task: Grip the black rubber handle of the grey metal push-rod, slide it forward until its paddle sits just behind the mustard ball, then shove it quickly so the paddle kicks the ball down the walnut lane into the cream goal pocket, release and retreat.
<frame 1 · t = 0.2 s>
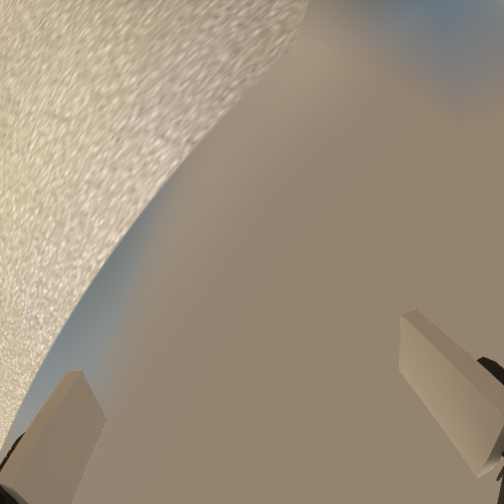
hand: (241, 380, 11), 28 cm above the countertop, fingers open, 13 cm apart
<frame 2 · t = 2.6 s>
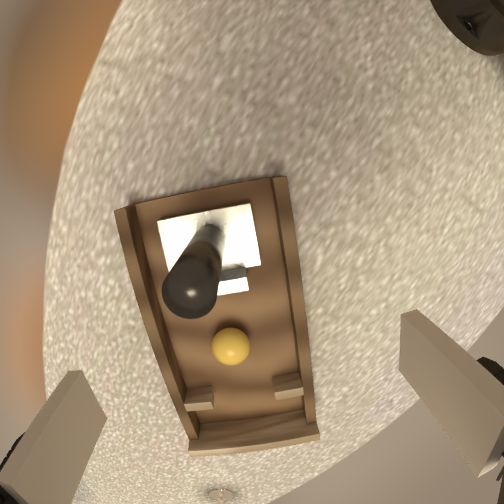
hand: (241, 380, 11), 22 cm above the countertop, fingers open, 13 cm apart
wineglass: (221, 494, 44), on the countertop
ball: (231, 337, 34), point 1 cm above the countertop, touching lane
lane: (229, 324, 35), on the countertop
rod: (203, 267, 25), point 9 cm above the countertop, slide at 0.0 cm
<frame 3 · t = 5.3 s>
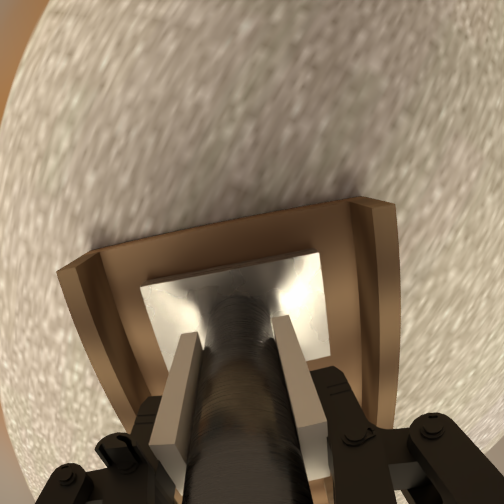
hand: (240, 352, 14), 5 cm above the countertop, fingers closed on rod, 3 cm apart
lane: (267, 425, 21), on the countertop
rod: (245, 413, 10), point 8 cm above the countertop, slide at 0.0 cm, touching gripper
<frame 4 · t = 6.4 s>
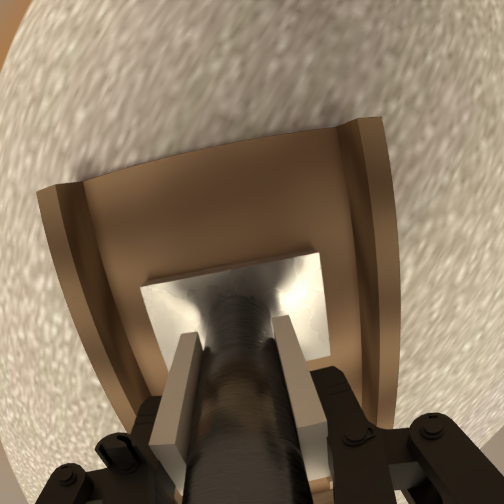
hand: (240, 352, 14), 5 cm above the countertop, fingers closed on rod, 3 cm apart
lane: (257, 386, 20), on the countertop
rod: (245, 413, 10), point 8 cm above the countertop, slide at 3.9 cm, touching gripper
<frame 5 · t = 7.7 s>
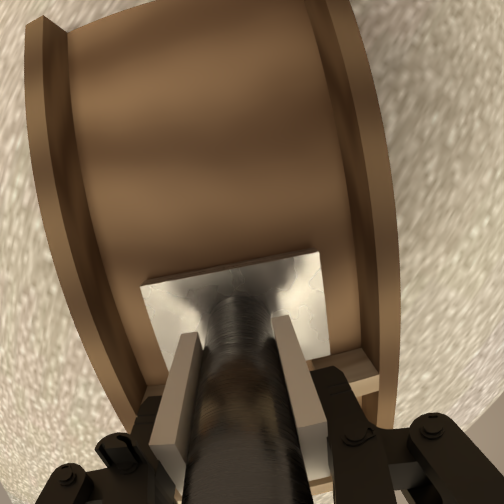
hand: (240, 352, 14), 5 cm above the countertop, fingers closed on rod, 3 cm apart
lane: (226, 249, 18), on the countertop
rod: (245, 413, 10), point 9 cm above the countertop, slide at 13.4 cm, touching gripper
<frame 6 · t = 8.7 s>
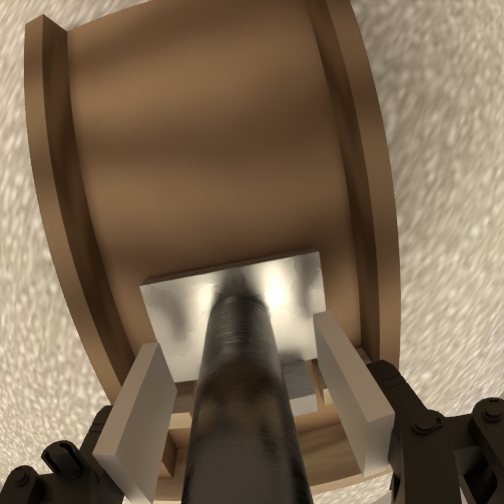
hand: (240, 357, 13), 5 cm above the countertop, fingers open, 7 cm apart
lane: (226, 248, 18), on the countertop
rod: (245, 412, 10), point 8 cm above the countertop, slide at 13.4 cm
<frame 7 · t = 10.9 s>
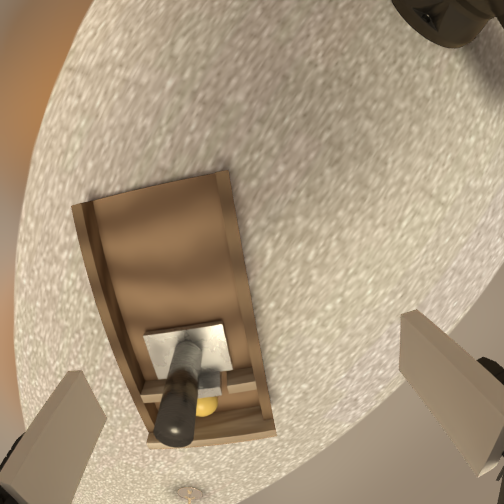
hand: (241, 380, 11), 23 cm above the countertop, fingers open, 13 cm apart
wineglass: (190, 492, 44), on the countertop
ball: (204, 415, 34), point 4 cm above the countertop, tilted 114°, touching lane
lane: (183, 317, 36), on the countertop
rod: (183, 389, 28), point 8 cm above the countertop, slide at 13.4 cm
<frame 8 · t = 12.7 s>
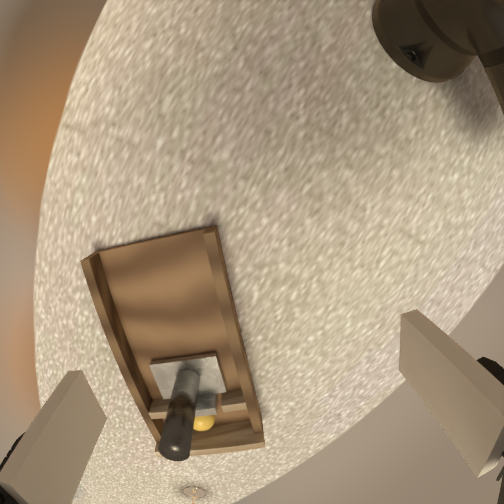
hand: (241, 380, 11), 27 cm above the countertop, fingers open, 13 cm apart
wineglass: (194, 491, 49), on the countertop
ball: (204, 429, 40), point 4 cm above the countertop, tilted 109°, touching lane
lane: (183, 348, 41), on the countertop
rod: (183, 412, 33), point 9 cm above the countertop, slide at 13.4 cm
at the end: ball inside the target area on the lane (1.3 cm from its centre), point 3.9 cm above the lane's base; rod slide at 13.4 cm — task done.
